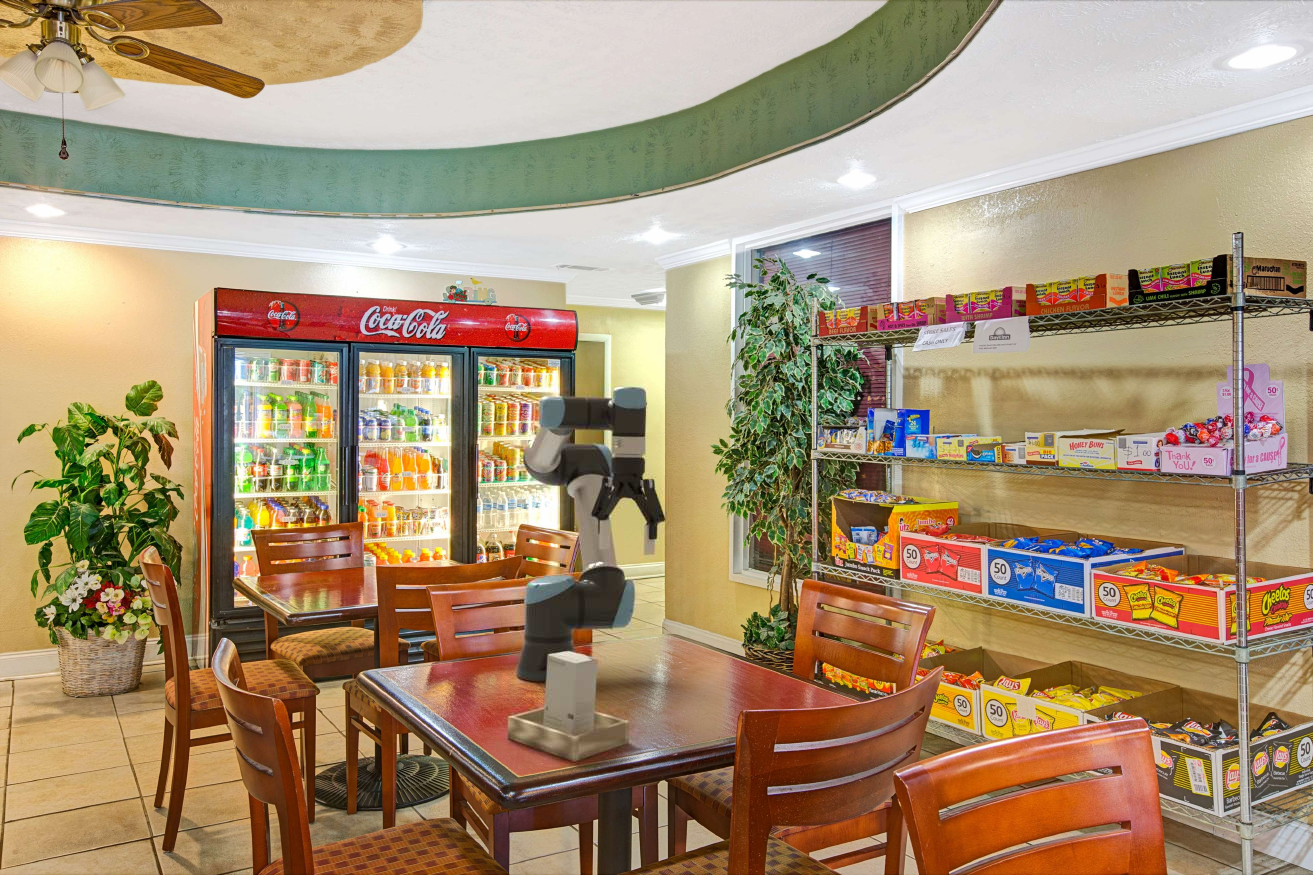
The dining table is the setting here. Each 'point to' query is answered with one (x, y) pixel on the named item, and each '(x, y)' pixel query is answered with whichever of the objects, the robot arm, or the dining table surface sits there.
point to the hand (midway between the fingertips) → (626, 551)
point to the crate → (568, 735)
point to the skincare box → (570, 692)
